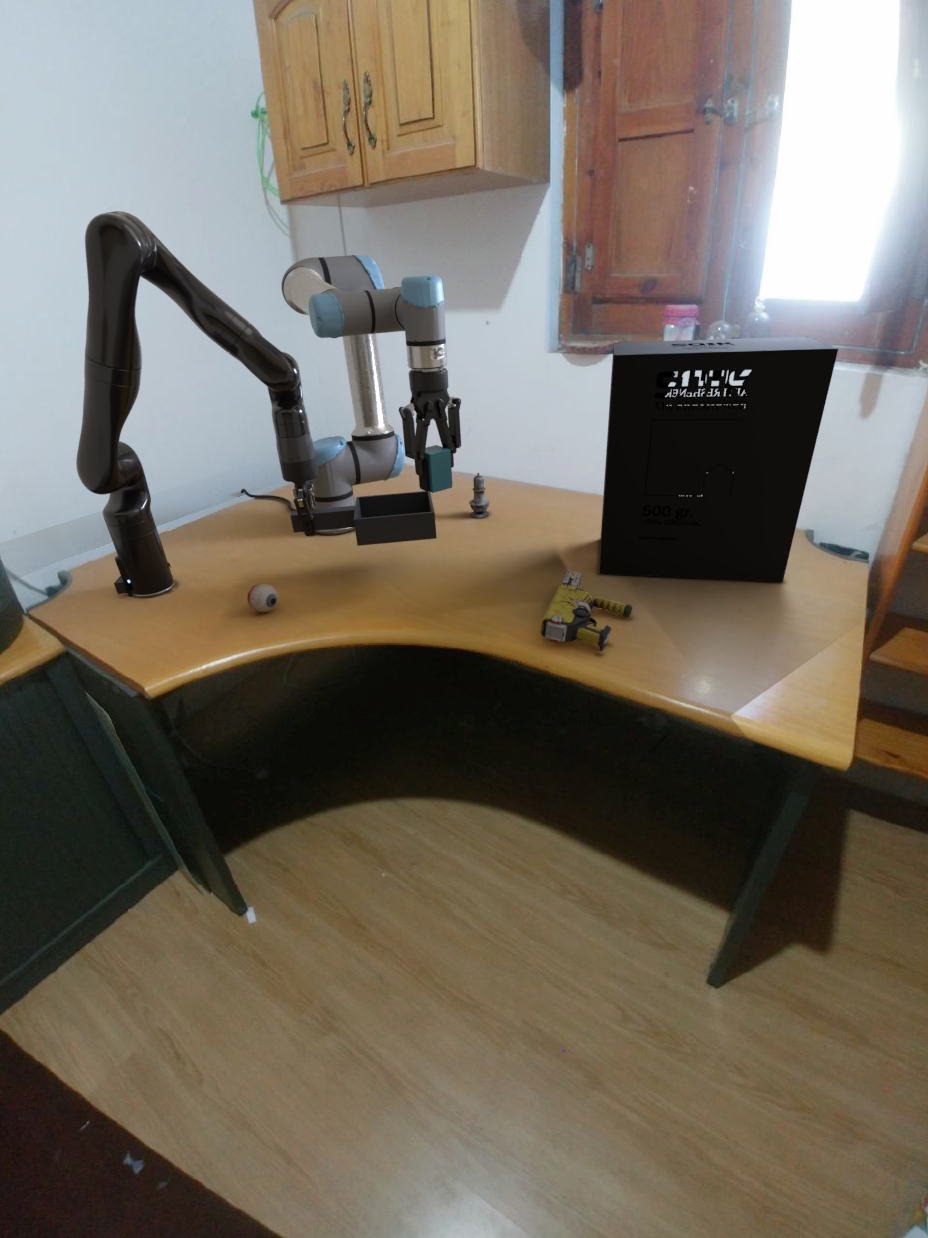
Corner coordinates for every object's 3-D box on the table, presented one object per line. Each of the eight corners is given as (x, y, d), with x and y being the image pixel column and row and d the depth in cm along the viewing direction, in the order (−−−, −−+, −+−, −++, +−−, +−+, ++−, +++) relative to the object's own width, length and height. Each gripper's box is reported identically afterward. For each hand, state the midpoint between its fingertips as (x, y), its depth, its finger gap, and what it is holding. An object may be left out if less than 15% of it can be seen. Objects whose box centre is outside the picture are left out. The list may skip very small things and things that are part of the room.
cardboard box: (762, 543, 144) (806, 336, 121) (782, 581, 126) (838, 348, 104) (600, 538, 151) (613, 342, 129) (599, 574, 134) (614, 354, 112)
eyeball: (265, 620, 124) (259, 594, 121) (245, 613, 127) (238, 588, 124) (287, 607, 128) (281, 582, 125) (266, 601, 131) (260, 576, 128)
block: (419, 487, 128) (416, 449, 124) (438, 482, 130) (436, 444, 126) (432, 493, 124) (430, 454, 120) (452, 487, 127) (450, 449, 123)
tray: (431, 514, 144) (429, 490, 141) (436, 538, 131) (434, 512, 128) (300, 526, 142) (295, 502, 139) (291, 551, 129) (286, 525, 126)
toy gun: (638, 581, 123) (566, 568, 127) (626, 636, 103) (540, 619, 107) (633, 601, 126) (563, 588, 130) (621, 659, 106) (537, 641, 110)
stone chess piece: (488, 518, 168) (487, 475, 162) (467, 517, 169) (465, 475, 163) (491, 510, 173) (490, 469, 167) (471, 510, 174) (469, 469, 168)
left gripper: (311, 463, 121) (325, 543, 130) (318, 446, 133) (330, 520, 142) (273, 466, 120) (290, 546, 129) (283, 448, 133) (298, 523, 141)
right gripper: (398, 376, 108) (410, 501, 120) (477, 364, 117) (480, 480, 129) (377, 372, 113) (390, 492, 125) (454, 360, 122) (459, 473, 134)
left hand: (311, 532), depth 135 cm, fingers closed on tray, 3 cm apart
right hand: (436, 486), depth 127 cm, fingers closed on block, 5 cm apart
